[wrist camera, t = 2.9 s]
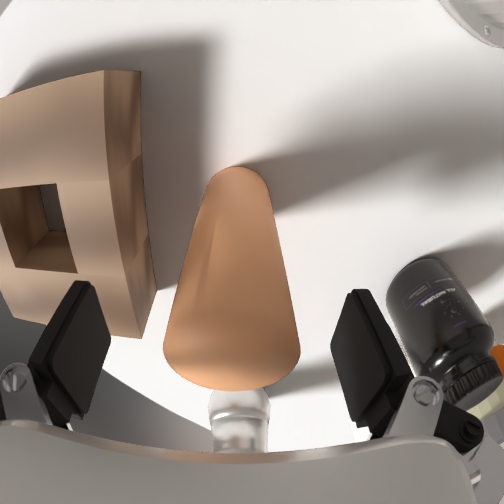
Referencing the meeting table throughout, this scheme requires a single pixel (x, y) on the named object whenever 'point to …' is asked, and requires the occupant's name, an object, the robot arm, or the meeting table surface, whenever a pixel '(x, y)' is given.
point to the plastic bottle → (239, 421)
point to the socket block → (76, 199)
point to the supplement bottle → (444, 332)
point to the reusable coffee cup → (493, 403)
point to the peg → (233, 292)
